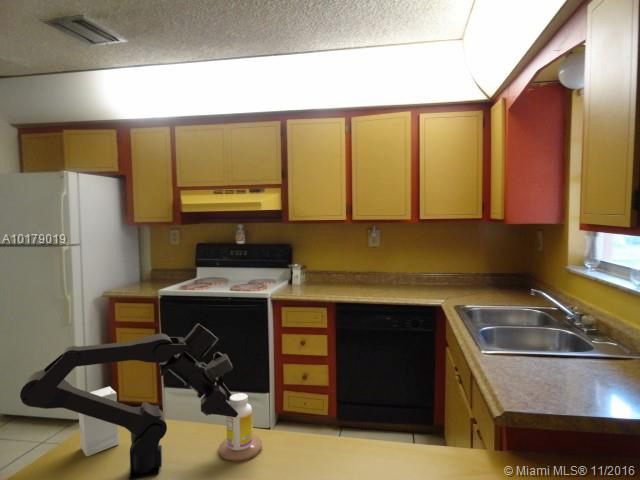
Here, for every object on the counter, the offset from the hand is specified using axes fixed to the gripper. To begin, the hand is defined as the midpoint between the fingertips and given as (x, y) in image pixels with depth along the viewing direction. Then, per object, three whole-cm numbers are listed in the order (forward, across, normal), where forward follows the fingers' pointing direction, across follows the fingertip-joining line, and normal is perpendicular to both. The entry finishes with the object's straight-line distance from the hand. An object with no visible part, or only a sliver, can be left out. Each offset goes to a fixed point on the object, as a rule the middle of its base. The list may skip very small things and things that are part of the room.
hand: (235, 407), depth 103 cm
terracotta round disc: (+9, 0, +7) cm, 11 cm away
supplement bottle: (+8, 0, +6) cm, 10 cm away
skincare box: (-16, +14, +33) cm, 39 cm away
